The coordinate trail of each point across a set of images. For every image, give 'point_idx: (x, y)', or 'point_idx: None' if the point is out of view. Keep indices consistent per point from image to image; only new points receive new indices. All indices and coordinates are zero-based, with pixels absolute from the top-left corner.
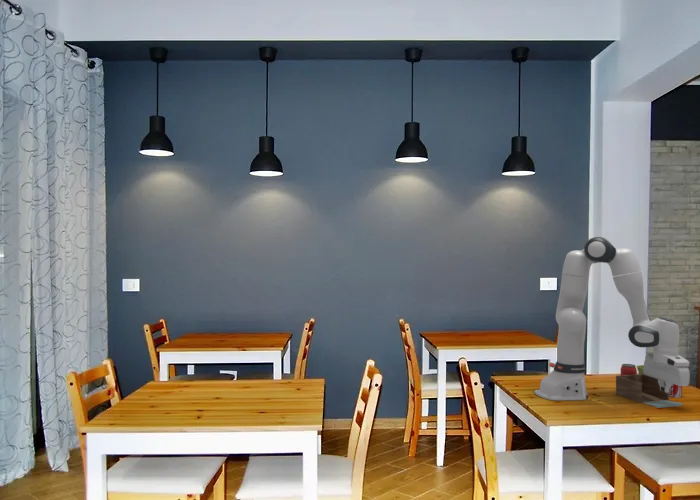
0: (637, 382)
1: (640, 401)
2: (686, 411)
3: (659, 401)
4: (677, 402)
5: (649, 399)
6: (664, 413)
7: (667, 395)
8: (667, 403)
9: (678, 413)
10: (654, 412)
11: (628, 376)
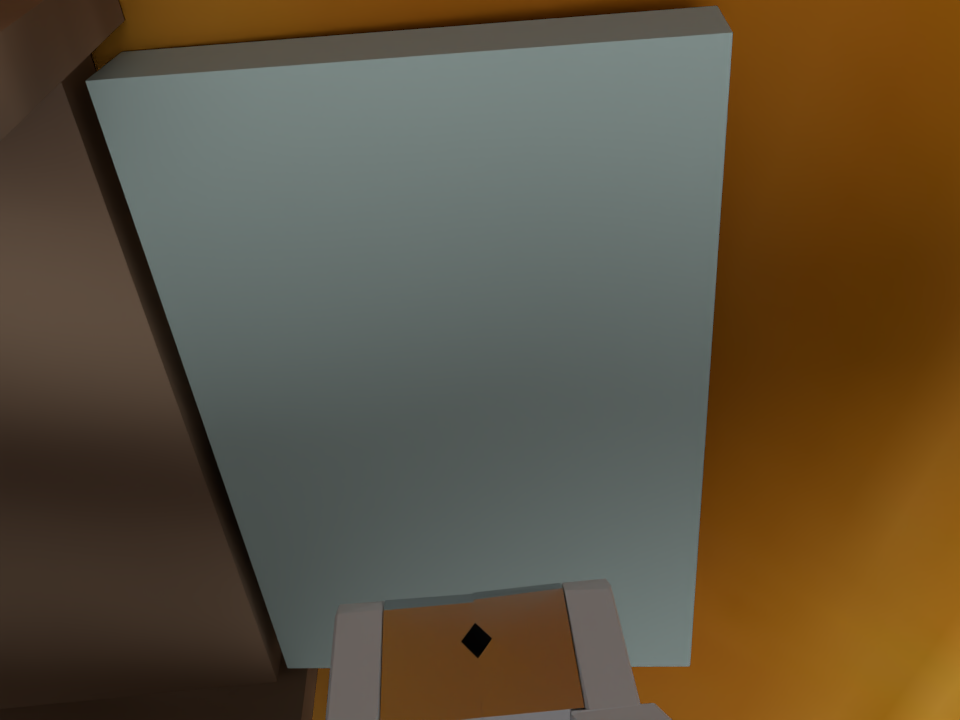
0: None
1: (309, 718)
2: (927, 80)
3: (263, 366)
4: (542, 48)
5: (43, 447)
6: (830, 572)
7: (36, 92)
8: (578, 395)
9: (945, 364)
10: (726, 662)
11: None
